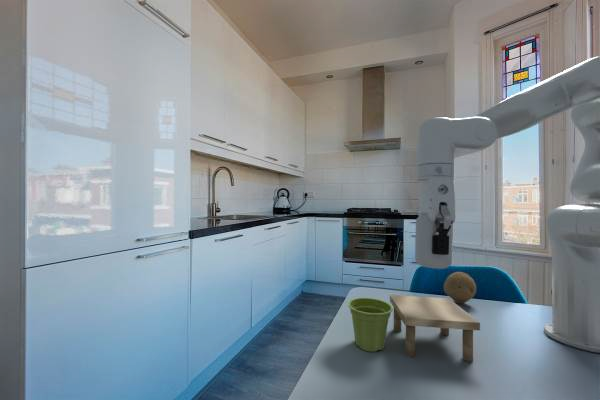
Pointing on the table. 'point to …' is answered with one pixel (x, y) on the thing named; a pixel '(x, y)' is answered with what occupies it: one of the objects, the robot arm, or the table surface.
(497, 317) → the table surface
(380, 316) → the plant pot
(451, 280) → the natural sponge
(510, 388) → the table surface
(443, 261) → the can
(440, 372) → the table surface
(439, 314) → the stool
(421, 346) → the table surface
